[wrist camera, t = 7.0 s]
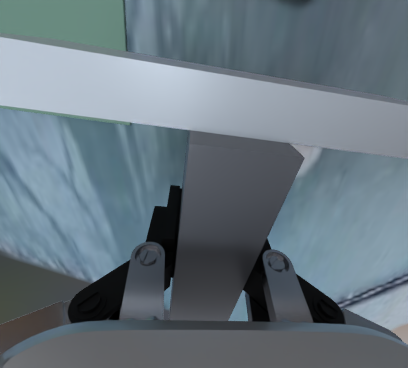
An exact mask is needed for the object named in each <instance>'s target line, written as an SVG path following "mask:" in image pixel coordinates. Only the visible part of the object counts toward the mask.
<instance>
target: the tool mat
mask: <svg viewBox="0 0 408 368" xmlns="http://www.w3.org/2000/svg"><path fill="white" fill-rule="evenodd" d="M0 33H5V34H15V35H24V36H34V37H43V38H52V39H58V40H64V41H70V42H75V43H81V44H87V45H93V46H99V47H104V48H110V49H116V50H122V51H127V41H126V23H125V4H124V0H0ZM0 108H4V109H11V110H19V111H26V112H34V113H41V114H49V115H56V116H64V117H71V118H79V119H86V120H94V121H101V122H109V123H116V124H123V125H131V122H124V121H116V120H108V119H101V118H93V117H86V116H78V115H70V114H63V113H55V112H48V111H40V110H32V109H25V108H17V107H10V106H2V105H0Z"/></svg>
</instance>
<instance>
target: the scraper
mask: <svg viewBox="0 0 408 368" xmlns="http://www.w3.org/2000/svg"><path fill="white" fill-rule="evenodd" d="M0 105H2V106H10V107H17V108H25V109H32V110H40V111H48V112H55V113H63V114H70V115H78V116H86V117H93V118H101V119H108V120H116V121H124V122H131V123H139V124H146V125H154V126H162V127H169V128H177V129H184V130H188V137H187V147H186V156H185V165H184V175H183V184H182V196H181V208H180V220H179V232H178V243H177V252H176V260H175V269H174V278H173V279H172V290H171V301H170V312H169V320H186V321H228V320H229V318H230V316H231V314H232V311H233V309H234V307H235V305H236V303H237V301H238V299H239V296H240V294H241V292H242V290H243V288H244V286H245V284H246V282H247V279H248V277H249V275H250V273H251V271H252V269H253V267H254V265H255V262H256V260H257V258H258V256H259V254H260V252H261V250H262V247H263V245H264V243H265V241H266V239H267V237H268V235H269V233H270V230H271V228H272V226H273V224H274V222H275V220H276V218H277V215H278V213H279V211H280V209H281V207H282V205H283V203H284V201H285V198H286V196H287V194H288V192H289V190H290V188H291V186H292V184H293V181H294V179H295V177H296V175H297V173H298V171H299V169H300V166H301V164H302V162H303V160H304V157H303V156H302V155H301V154H300V153H299V152H298V151H297V150H296V149H295V148H294V147H292V146H291V145H290V144H289V143H291V144H298V145H306V146H314V147H321V148H329V149H336V150H344V151H352V152H359V153H367V154H374V155H382V156H390V157H397V158H405V159H408V101H404V100H399V99H395V98H391V97H386V96H382V95H377V94H371V93H365V92H360V91H354V90H348V89H342V88H336V87H331V86H325V85H319V84H313V83H307V82H302V81H296V80H290V79H284V78H278V77H273V76H267V75H261V74H255V73H249V72H244V71H238V70H232V69H226V68H220V67H215V66H209V65H203V64H197V63H191V62H186V61H180V60H174V59H168V58H162V57H157V56H151V55H145V54H139V53H133V52H128V51H122V50H116V49H110V48H104V47H99V46H93V45H87V44H81V43H75V42H70V41H64V40H58V39H52V38H43V37H34V36H24V35H15V34H5V33H0Z"/></svg>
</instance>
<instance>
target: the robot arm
mask: <svg viewBox="0 0 408 368" xmlns="http://www.w3.org/2000/svg"><path fill="white" fill-rule="evenodd" d="M181 196H182V189H180V186H174V185H171V187H170V193H169V198H168V204H167V207H161V206H155V208H154V211H153V215H152V219H151V223H150V227H149V231H148V235H147V239H146V242H145V243H142V244H140V245H138V246H137V247H136V248H135V249H134V250H133V252H132V255H131V259H130V260H129V261H127V262H126V263H124V264H123V265H121V266H119V267H118V268H116V269H115V270H113V271H111V272H110V273H108V274H107V275H105V276H103V277H102V278H100V279H99V280H97V281H96V282H94V283H92V284H91V285H89V286H88V287H86V288H84V289H83V290H82V291H80V292H79V293H78V294H76V296H75V297H74V298H73V299H72V300H69V301H67V302H63V301H60V302H57V303H55V304H52V305H50V306H47V307H44V308H42V309H39V310H37V311H34V312H31V313H29V314H26V315H24V316H21V317H19V318H16V319H14V320H11V321H9V322H6V323H3V324H1V325H0V368H408V345H407V344H406V343H404V342H403V341H402V340H401V339H400V338H399V337H398V336H397V335H396V334H394V333H393V332H391V331H390V330H388V329H386V328H384V327H382V326H380V325H378V324H376V323H373V322H371V321H369V320H367V319H365V318H363V317H361V316H359V315H357V314H355V313H353V312H351V311H349V310H346V309H344V308H343V309H342V310H341V309H340V308H339V306H338V305H337V304H336V303H335V302H334V301H333V300H332V299H331V298H329V297H328V296H326V295H325V294H324V293H322V292H321V291H319V290H318V289H317V288H315V287H314V286H312V285H311V284H310V283H308V282H307V281H305V280H304V279H303V278H301V277H300V276H298V275H297V274H296V273H295V270H294V268H293V265H292V263H291V261H290V259H289V258H288V257H287V256H286V255H285V254H283V253H282V252H280V251H277V250H272V249H271V247H270V244H269V242H268V239H266V241H265V243H264V245H263V247H262V250H261V252H260V254H259V256H258V258H257V260H256V262H255V265H254V267H253V269H252V271H251V273H250V275H249V277H248V279H247V282H246V284H245V286H244V288H243V290H244V291H245V297H246V305H247V313H248V321H186V320H163V306H164V291H165V290H166V289H167V288H168V287H169V286H170V280H171V278H174V269H175V260H176V252H177V243H178V232H179V220H180V208H181Z"/></svg>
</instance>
